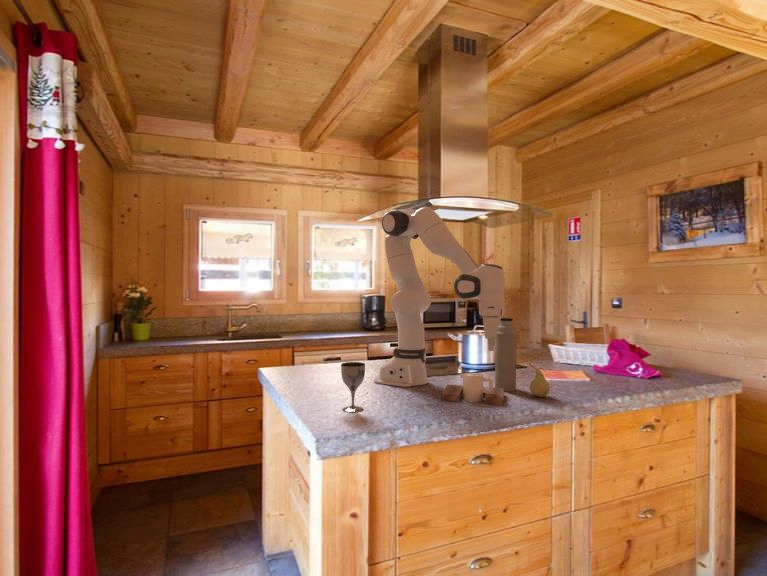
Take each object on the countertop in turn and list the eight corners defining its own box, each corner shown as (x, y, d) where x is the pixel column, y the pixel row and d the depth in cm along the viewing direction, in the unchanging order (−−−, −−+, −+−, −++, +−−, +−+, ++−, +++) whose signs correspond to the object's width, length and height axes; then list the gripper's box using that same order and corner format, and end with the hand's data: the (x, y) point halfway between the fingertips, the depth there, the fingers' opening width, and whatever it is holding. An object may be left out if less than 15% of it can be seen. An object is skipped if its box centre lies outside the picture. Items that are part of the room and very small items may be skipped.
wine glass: (340, 406, 149) (341, 362, 148) (364, 405, 149) (364, 361, 149) (340, 413, 141) (340, 366, 140) (365, 412, 141) (365, 366, 141)
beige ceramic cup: (459, 401, 156) (459, 375, 155) (461, 396, 162) (461, 371, 162) (491, 403, 153) (492, 378, 152) (492, 398, 159) (493, 373, 159)
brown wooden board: (441, 400, 156) (441, 393, 156) (447, 390, 170) (447, 384, 170) (502, 405, 151) (503, 398, 151) (503, 395, 164) (503, 388, 164)
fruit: (547, 400, 157) (548, 367, 157) (526, 397, 161) (526, 364, 161) (551, 396, 163) (551, 364, 163) (530, 393, 167) (531, 361, 166)
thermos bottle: (514, 387, 176) (515, 317, 175) (516, 392, 168) (517, 319, 168) (494, 385, 178) (495, 316, 177) (495, 390, 170) (496, 318, 169)
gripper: (484, 307, 166) (484, 344, 166) (480, 311, 146) (480, 352, 147) (501, 307, 164) (501, 344, 165) (500, 311, 145) (500, 353, 145)
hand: (491, 348), depth 156 cm, fingers open, 8 cm apart
